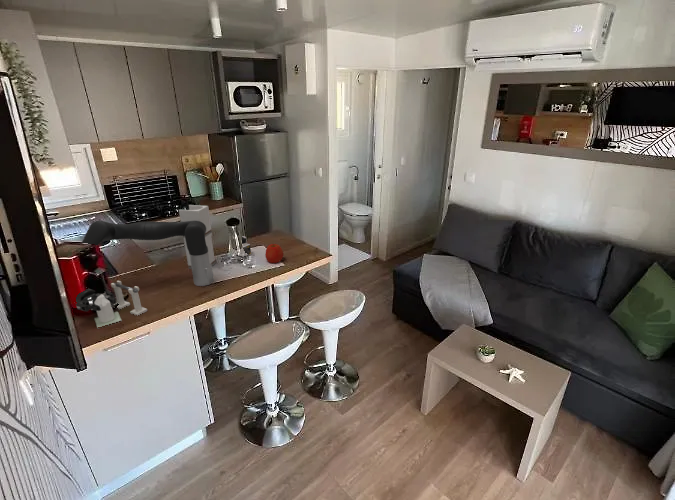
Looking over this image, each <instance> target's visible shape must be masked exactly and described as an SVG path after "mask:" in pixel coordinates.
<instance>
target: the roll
mask: <svg viewBox="0 0 675 500" xmlns="http://www.w3.org/2000/svg"><path fill="white" fill-rule="evenodd" d="M102 294H103V293H101V295H100V296H98V297H97V299H96V301H95V302H94V303H95V304H96V305H98V306H100V309H101V310H100V311H96V314H97V317H99V320H100V322H103V323H105V322H109V321H112V320H113V319H114V318H115V316H114V309H113V306H112V303H110V301H109V300H107V298H105V297H104V295H102Z"/></svg>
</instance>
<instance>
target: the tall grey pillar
mask: <svg viewBox="0 0 675 500" xmlns="http://www.w3.org/2000/svg"><path fill="white" fill-rule="evenodd" d="M178 213H179V219H180V222H185V221H200V222H202V223H204V224H205V226H206V233H205V241H206V246H207V247H208V253H209V260H210V264H212V267H213V266H214V265H215V264H216V263H217V260H216V259H215V254H214V253H215V252H214V245H213V239H212V238H213V237H212V236H213V230H212V223H211V216H210V215H211V214H210V209H209V205H199V204H195V205H194V204H188V209H178ZM182 237H183V238H182V239H183V243H184V249H185V253H186V260H187V267H188V269H189V270H192V267H191V261H190V255H189V251H188V249H187V244H186V239H185V236H182Z"/></svg>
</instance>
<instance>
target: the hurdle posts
mask: <svg viewBox="0 0 675 500" xmlns="http://www.w3.org/2000/svg"><path fill="white" fill-rule="evenodd" d="M114 283H115V282H112V283H110V286H111V288H113V291H114V295H115V297H116V298H115V299H116V303H118V304H119V305H118V306H117V308H118V309H117V308H116V309H117V310H120V309H121V310H123V309H125V308H126V306H127V307H129V306H130V305H131V302H129V301H126V300H125V299H124V298H125V297H124V295H123V291H122V288H120V287H117V286H116V285H115V284H114ZM116 283H118V284H121V285H123V283H122V281H121V280H116ZM133 289H136V290H138V292H137V293H135V292H133V290H132V289H128V290H127V291H128V293H129V294H130V295H131V299H132V303H133V307H134V309H132V310H130V311H129V313H130V314H131V315H133V314H134V316H136V315H137V317H138V315H139V316H141V315H142V313H143V314H145V313H146V312H148V308H145V307H143V306H142V305H141V300H140V296H139V295H140V294H139V291H140V288H139V286H136V285H135V286H134V287H133ZM124 307H125V308H124ZM122 308H123V309H122ZM140 314H141V315H140Z"/></svg>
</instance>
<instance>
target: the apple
mask: <svg viewBox="0 0 675 500" xmlns="http://www.w3.org/2000/svg"><path fill="white" fill-rule="evenodd" d="M264 256H265V260H266V261H267V262H268V263H271V264H276V263H279V262H281V261H282V260H283V257H284V250H283V248H282V247H281V245H279V244H277V243H271V244H269V245H267V247H266V248H265V255H264Z"/></svg>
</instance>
